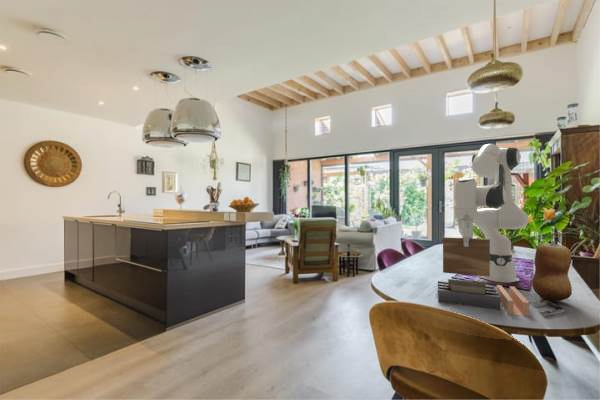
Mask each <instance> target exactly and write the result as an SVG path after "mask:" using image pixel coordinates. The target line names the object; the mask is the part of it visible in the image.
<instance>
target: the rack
mask: <svg viewBox="0 0 600 400" xmlns="http://www.w3.org/2000/svg"><path fill="white" fill-rule="evenodd" d="M437 297H438V300H437V301H438V303H442V304H443V303H444V304H451V305H459V306H467V307H474V308H482V309H490V310H497V311H501V307H502V304H501V297H500V296H498V293H497V289H495V287H494V286H491V285H486V291H485V294H478V293H469V292H461V291H452V290H451V287H448V281H444V280H437Z"/></svg>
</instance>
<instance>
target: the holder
mask: <svg viewBox="0 0 600 400" xmlns="http://www.w3.org/2000/svg"><path fill="white" fill-rule="evenodd" d="M496 292H497V293H498V296H500V297H501V307H503V309H504V310H505V312H506V314H508V315H515V316H523V317H530V303H529V302H530V301H528V300H527V299H526V297H524V296H523V295H522V293H521V292H520V291H519V290H518V289H517V287H515V286H509V292H508V291H506V290H505V288H504V287H503V285H500V284H496ZM508 293H509V294H508Z"/></svg>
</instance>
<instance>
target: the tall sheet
mask: <svg viewBox="0 0 600 400" xmlns="http://www.w3.org/2000/svg"><path fill="white" fill-rule="evenodd" d="M442 273H444V274H454V275H465V276H466V275H467V276H477V277H479V276H487V277H490V239H486V238H475V237H473V238H472V239H469V243H468V247H464V240H463V238H462V237H450V236H449V237H448V236H442Z"/></svg>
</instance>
